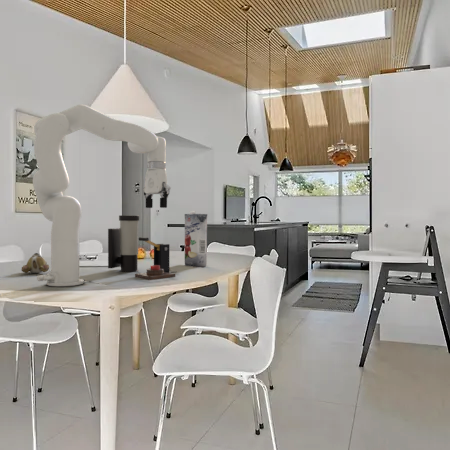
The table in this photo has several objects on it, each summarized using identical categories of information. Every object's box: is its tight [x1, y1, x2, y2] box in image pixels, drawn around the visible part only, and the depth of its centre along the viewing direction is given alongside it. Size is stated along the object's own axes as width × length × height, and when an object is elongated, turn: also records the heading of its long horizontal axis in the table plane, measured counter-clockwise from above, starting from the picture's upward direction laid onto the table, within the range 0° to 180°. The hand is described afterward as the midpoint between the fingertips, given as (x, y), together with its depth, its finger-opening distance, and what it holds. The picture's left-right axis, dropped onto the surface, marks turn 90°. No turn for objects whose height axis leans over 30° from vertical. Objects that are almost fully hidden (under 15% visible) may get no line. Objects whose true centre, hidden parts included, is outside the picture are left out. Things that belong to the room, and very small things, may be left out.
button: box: [150, 264, 160, 270], centre depth 168 cm, size 4×4×2 cm
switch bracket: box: [145, 243, 176, 274], centre depth 181 cm, size 10×8×13 cm
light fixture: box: [107, 214, 140, 273], centre depth 185 cm, size 12×11×25 cm
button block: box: [134, 267, 176, 281], centre depth 168 cm, size 12×10×4 cm
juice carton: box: [184, 210, 208, 268], centre depth 212 cm, size 9×10×27 cm
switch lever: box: [138, 236, 160, 251], centre depth 178 cm, size 12×5×2 cm, turn 136°
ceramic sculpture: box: [21, 252, 50, 274], centre depth 185 cm, size 11×9×15 cm
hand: (156, 207), depth 181 cm, fingers open, 9 cm apart
